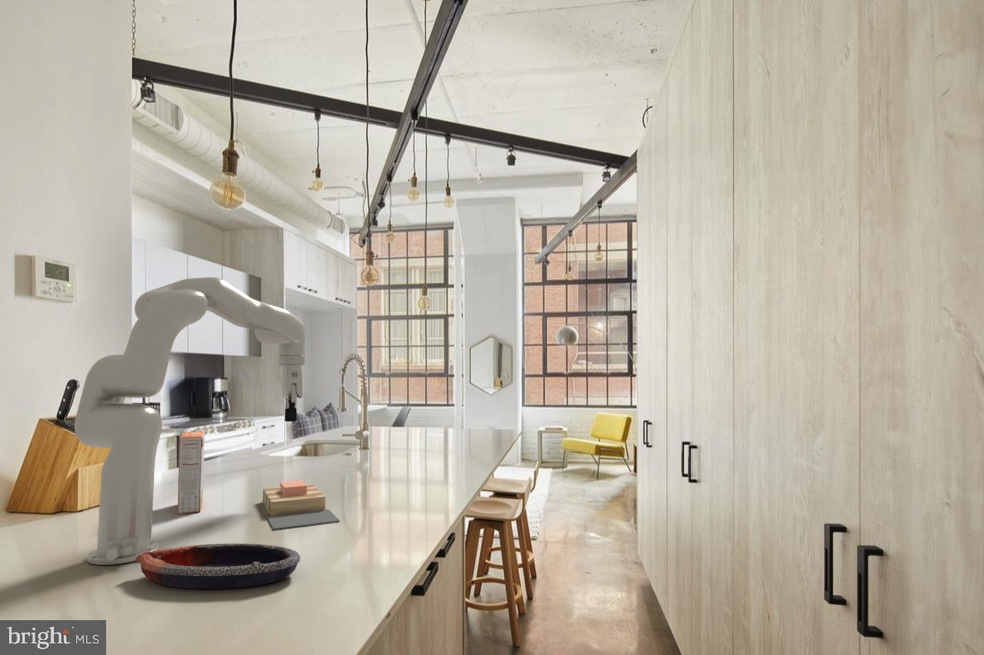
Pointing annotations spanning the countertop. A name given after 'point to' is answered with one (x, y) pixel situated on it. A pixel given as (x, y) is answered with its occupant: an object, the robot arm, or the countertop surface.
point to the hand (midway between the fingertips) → (290, 421)
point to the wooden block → (292, 501)
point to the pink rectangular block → (293, 488)
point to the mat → (301, 519)
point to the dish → (218, 565)
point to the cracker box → (190, 472)
